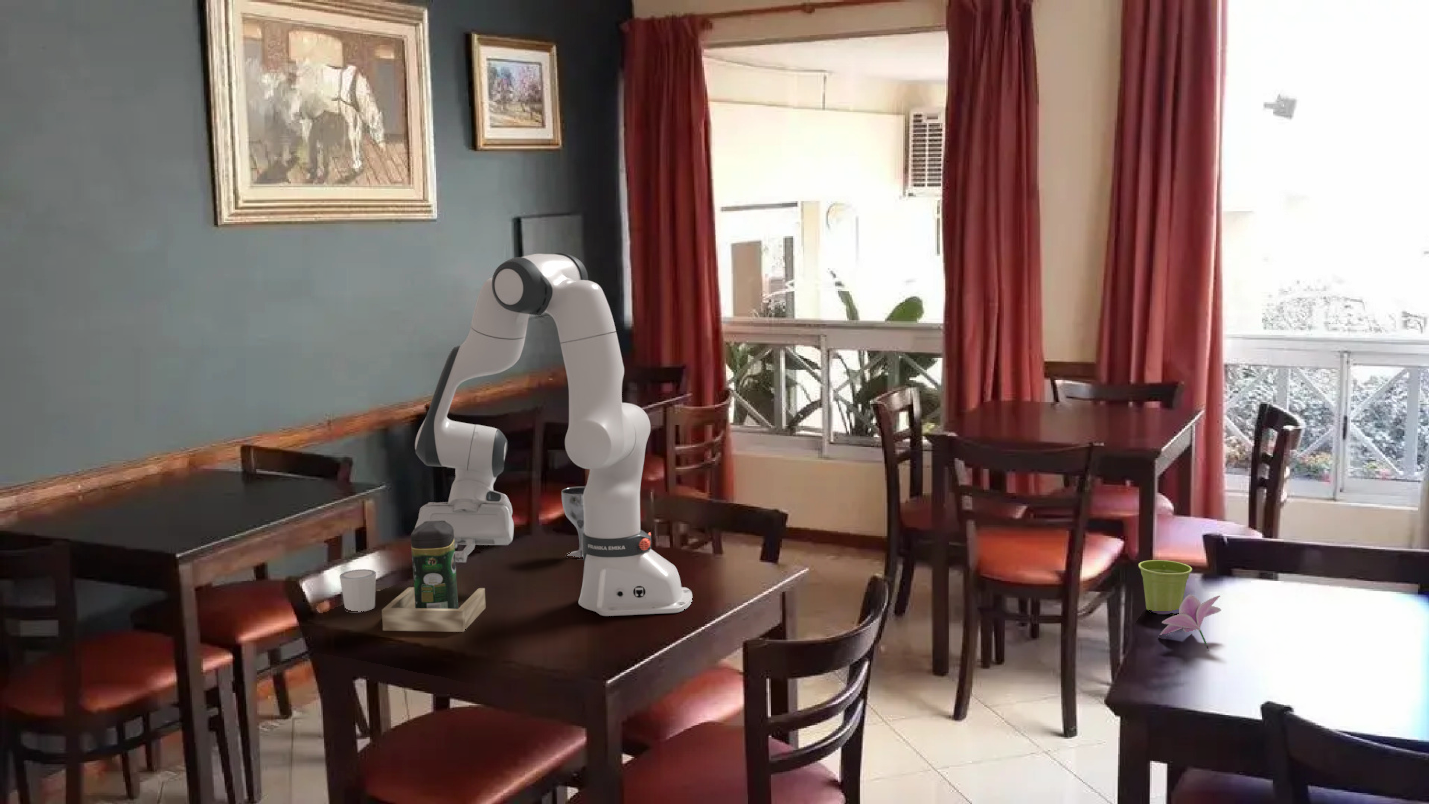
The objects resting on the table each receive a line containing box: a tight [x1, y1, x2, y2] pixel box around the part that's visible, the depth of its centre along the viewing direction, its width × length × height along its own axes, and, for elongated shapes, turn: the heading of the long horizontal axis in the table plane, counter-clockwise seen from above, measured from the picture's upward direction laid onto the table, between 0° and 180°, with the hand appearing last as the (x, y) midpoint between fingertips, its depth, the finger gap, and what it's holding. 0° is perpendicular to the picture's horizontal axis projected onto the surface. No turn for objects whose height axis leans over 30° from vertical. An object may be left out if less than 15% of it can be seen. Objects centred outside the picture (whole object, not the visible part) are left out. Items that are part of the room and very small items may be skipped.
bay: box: [381, 586, 487, 633], centre depth 234 cm, size 15×14×4 cm
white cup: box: [339, 568, 377, 613], centre depth 241 cm, size 7×7×7 cm
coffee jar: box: [410, 521, 459, 609], centre depth 233 cm, size 10×8×19 cm
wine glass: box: [561, 485, 586, 558], centre depth 276 cm, size 8×8×15 cm
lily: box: [1159, 594, 1222, 645], centre depth 212 cm, size 12×12×10 cm
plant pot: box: [1138, 559, 1193, 611], centre depth 229 cm, size 9×9×9 cm
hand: (457, 561), depth 248 cm, fingers closed
